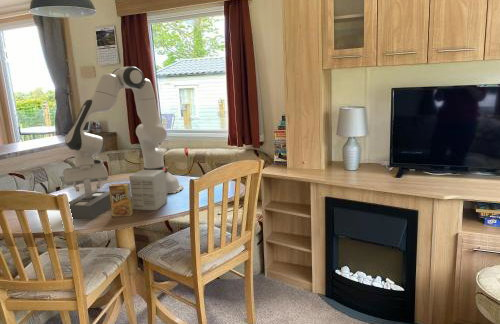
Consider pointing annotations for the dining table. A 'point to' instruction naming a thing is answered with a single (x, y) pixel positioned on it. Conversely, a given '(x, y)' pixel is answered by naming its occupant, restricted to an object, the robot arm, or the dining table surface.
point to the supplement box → (148, 189)
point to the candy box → (120, 199)
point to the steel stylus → (87, 188)
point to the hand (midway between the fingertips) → (88, 189)
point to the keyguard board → (90, 206)
